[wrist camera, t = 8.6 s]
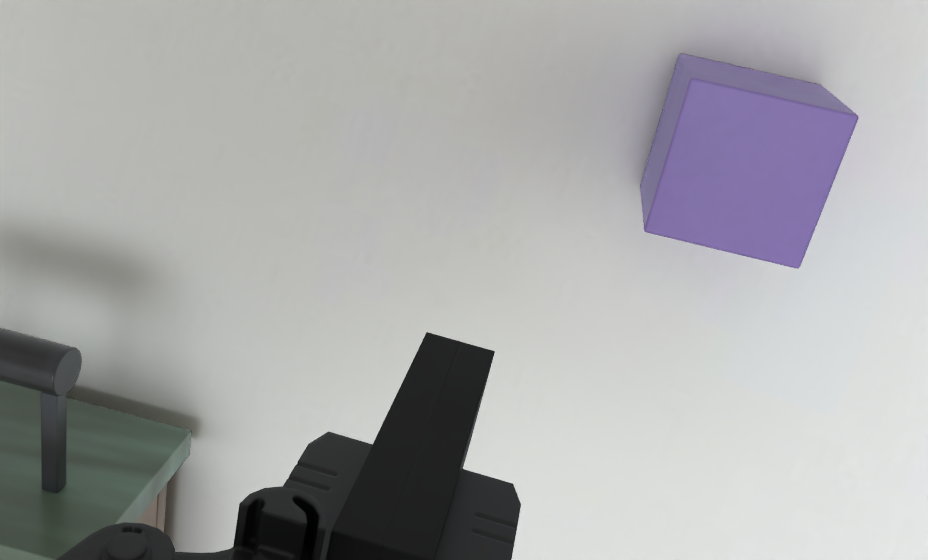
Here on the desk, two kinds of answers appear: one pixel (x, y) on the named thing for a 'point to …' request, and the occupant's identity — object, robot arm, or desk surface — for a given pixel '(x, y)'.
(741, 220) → the lavender cube
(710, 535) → the desk surface
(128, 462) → the green drawer
